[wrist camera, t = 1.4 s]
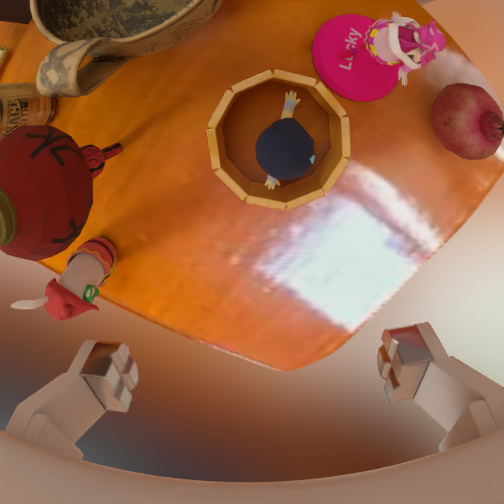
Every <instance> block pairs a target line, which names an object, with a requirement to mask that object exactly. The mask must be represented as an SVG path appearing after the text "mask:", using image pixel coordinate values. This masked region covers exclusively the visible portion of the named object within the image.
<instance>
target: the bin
mask: <svg viewBox="0 0 504 504" xmlns="http://www.w3.org/2000/svg"><path fill="white" fill-rule="evenodd" d="M31 19H32V13H31V9H30V0H0V21H6V22H15V23H22V24H28V23H29V21H30V20H31Z"/></svg>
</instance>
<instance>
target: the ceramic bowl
mask: <svg viewBox="0 0 504 504" xmlns="http://www.w3.org/2000/svg"><path fill="white" fill-rule="evenodd" d="M222 2H223V0H30V9H31V13H32V17H33V20H34V22H35V24H36V26H37V28H38V29H39V31H40V32H41V33H42V34H43V35H44V36H45V37H46V38H47V39H49V40H50V41H52V42H53V43H55V44H57V45H58V46H57V47H55V48H54V49H52V50H51V51H50V52H49V53H48V54H47V55H46V56H45V57H44V59H43V61H42V62H41V64H40V66H39V69H38V72H37V76H36V87H37V89H38V91H39V93H40V94H41V95H42V96H44V97H48V98H49V97H79V96H85V95H88V94H89V93H91V92H92V91H94V90H95V89H96V88H98V87H99V86H100V85H101V84H102V83H103V82H104V81H105V80H107V79H108V78H109V77H110V76H111V75H112V74H113V73H114V72H116V71H117V70H118V69H119V68H121V67H122V66H123V65H124V64H125V63H127V62H128V61H130V60H132V59H135V58H138V57H141V56H144V55H148V54H153V53H157V52H160V51H162V50H165V49H168V48H170V47H172V46H174V45H177V44H179V43H180V42H182V41H184V40H186V39H187V38H189V37H190V36H191V35H193V34H194V33H195V32H197V31H198V30H199V29H200V28H201V27H202V26H204V25H205V24H206V23H207V22H208V21H209V20H210V19H211V18H212V17H213V15H214V14H215V13H216V11H217V10H218V9H219V7H220V6H221V4H222ZM85 56H92V57H94V58H93V59H92V60H91V61H90V62H89V63H88V64H87V65H85V66H84V67H83V68H81V69H80V70H79V71H78V69H79V66H80V64H81V62H82V61H83V59H84V57H85Z"/></svg>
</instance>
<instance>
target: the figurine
mask: <svg viewBox="0 0 504 504" xmlns="http://www.w3.org/2000/svg"><path fill="white" fill-rule="evenodd" d="M392 13H393V12H392ZM398 14H399V12H398V13H397V14H396V12H395V14H394V13H393V16H392V18H391V20H384V19H380V20H378V21H374V20H372V19H370V18H368V17H365V16H361V15H355V14H347V15H340V16H337V17H334V18H332V19H330V20H328V21H327V22H326V23H324V24H323V25H322V26H321V27H320V29H319V30H318V32H317V33H316V35H315V38H314V41H313V46H312V57H313V62H314V66H315V68H316V70H317V72H318V74H319V76H320V78H321V79H322V80H323V82H324V83H325V84H326V85H327V86H328V87H329V88H330V89H331V90H333V91H334V92H335V93H337V94H339V95H340V96H342V97H344V98H347V99H350V100H354V101H360V102H368V101H374V100H377V99H380V98H382V97H384V96H386V95H387V94H388V93H390V92H391V91H392V90H393V89H394V87H395V86H396V84H397V83H398V81H399V80H400V78H401V77H402V86H403V82H404V85H405V87H406V85H407V82H408V79H407V75H408V72H410V71H413V70H415V69H419V68H420V67H421V65H423V66H425V67H426V66H427V62H431V59H435V57H436V55H434V53H435V52H439V51H442V50H443V49H444V48H445V45H446V39H445V37H444V35H443V34H442V33H441V31H440V30H439V29H437V28H436V24H435V21H434V20H432V21H431V22H430V23H429V24H428V25H427V26H425V25H424V26H423V27H422V26H421V27H420V25H419V24H418V23H417V22H416V21H415V20H414V19H412V18H408V17H400V16H401V14H400V15H398ZM402 61H403V62H404V65H402ZM405 82H406V84H405Z"/></svg>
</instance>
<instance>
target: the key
mask: <svg viewBox="0 0 504 504" xmlns="http://www.w3.org/2000/svg"><path fill="white" fill-rule="evenodd" d="M6 52H7V49H6V48H2V47H0V65H1V63H2V61H3V58H4V56H5V54H6Z"/></svg>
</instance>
